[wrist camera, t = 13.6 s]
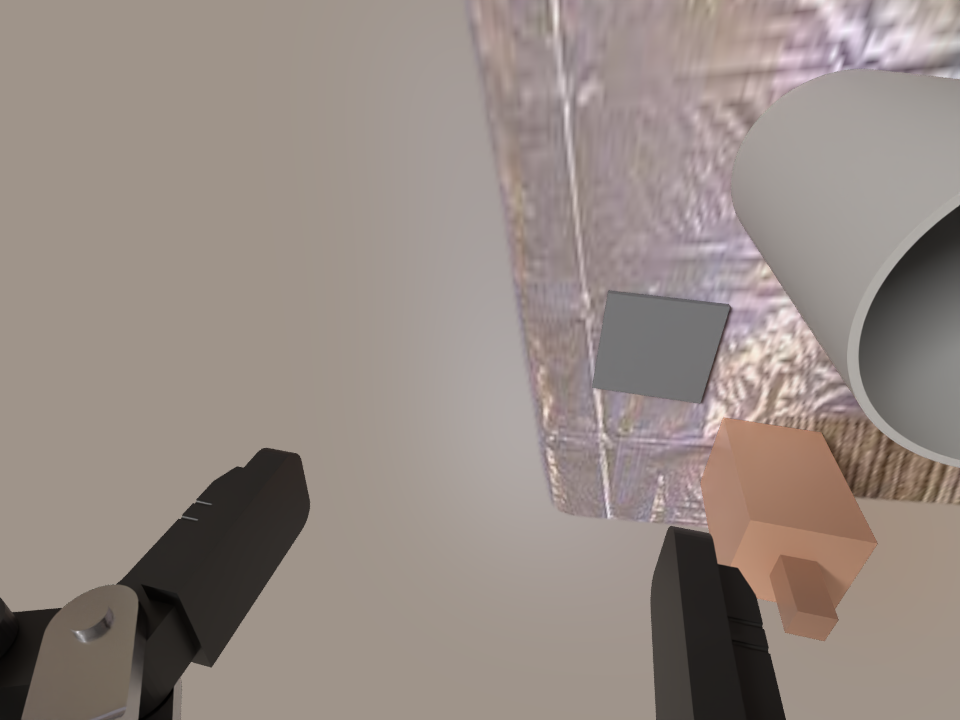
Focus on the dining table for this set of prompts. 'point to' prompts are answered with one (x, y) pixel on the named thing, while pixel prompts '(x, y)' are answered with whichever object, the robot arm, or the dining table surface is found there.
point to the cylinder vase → (868, 238)
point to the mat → (658, 345)
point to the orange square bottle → (785, 520)
